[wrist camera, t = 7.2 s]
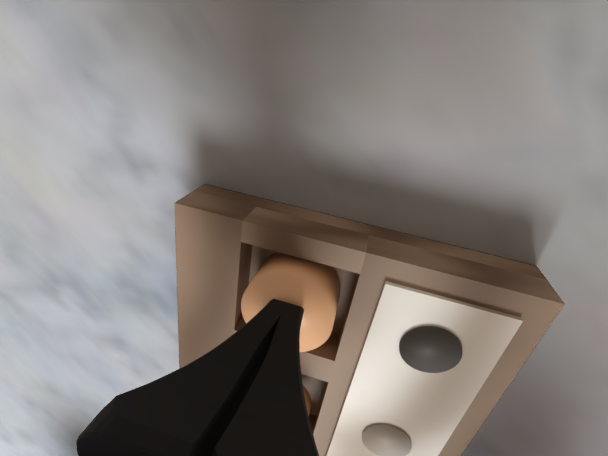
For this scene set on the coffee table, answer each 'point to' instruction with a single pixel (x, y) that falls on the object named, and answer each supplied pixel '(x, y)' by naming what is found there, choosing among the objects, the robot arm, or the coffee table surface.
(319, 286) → the button
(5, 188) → the coffee table surface
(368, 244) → the button board
